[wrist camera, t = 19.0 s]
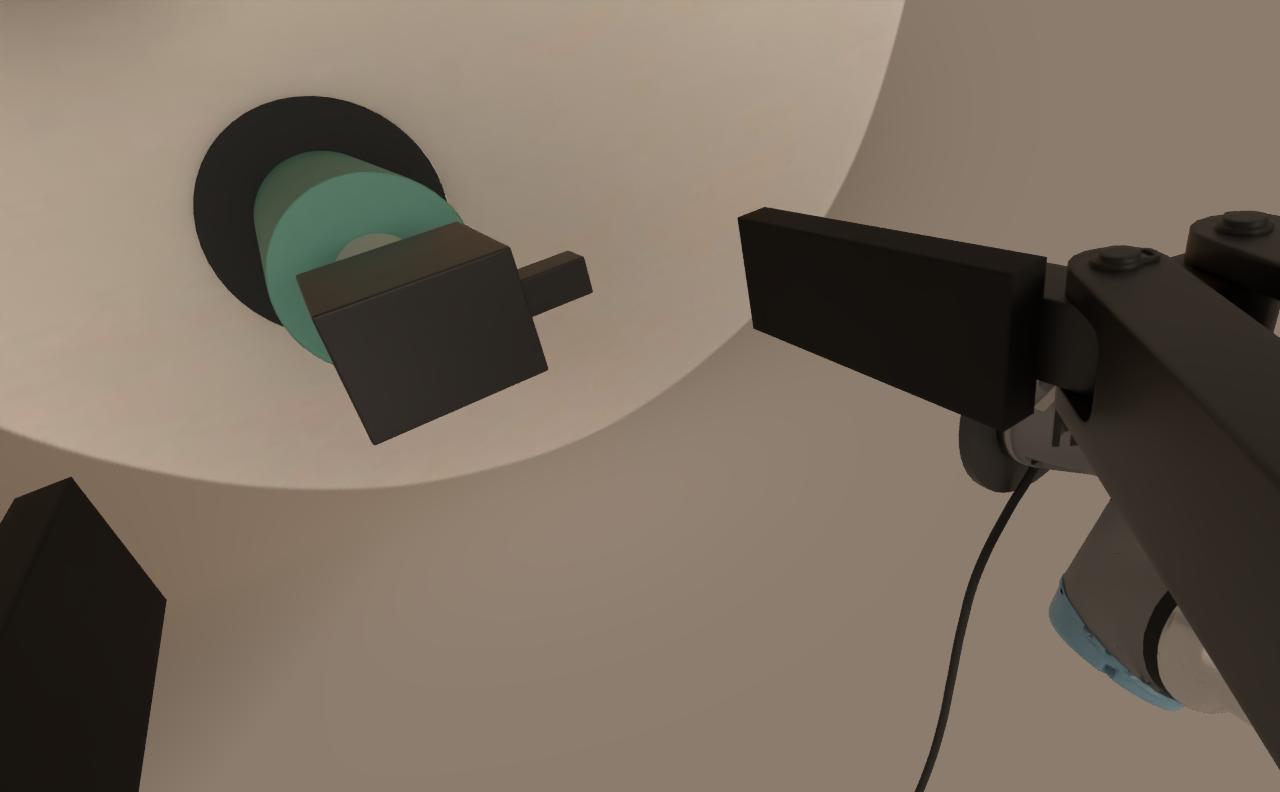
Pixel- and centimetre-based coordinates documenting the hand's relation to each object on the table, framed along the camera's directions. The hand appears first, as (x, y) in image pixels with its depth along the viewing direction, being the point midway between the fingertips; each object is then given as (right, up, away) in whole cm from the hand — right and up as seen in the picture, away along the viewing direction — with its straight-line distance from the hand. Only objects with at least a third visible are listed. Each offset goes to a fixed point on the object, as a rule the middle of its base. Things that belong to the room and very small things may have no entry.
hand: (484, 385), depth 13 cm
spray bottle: (-11, +8, +19) cm, 23 cm away
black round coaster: (-12, +8, +19) cm, 24 cm away
